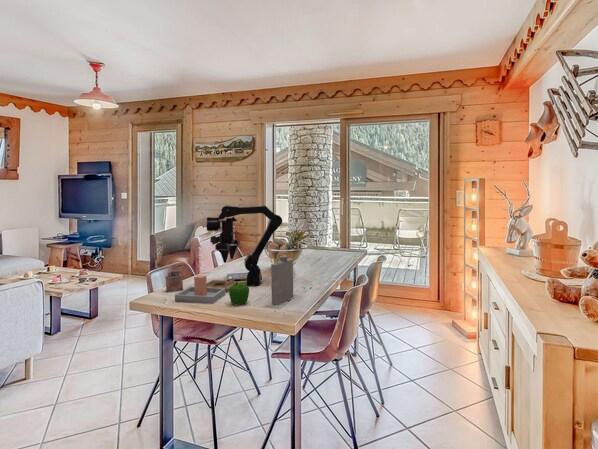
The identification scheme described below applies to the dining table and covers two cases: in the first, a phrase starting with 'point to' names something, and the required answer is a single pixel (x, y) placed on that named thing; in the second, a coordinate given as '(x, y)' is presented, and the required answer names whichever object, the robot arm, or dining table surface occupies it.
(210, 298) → the tray
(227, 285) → the socket block
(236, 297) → the bell pepper
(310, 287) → the dining table surface
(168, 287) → the lighter
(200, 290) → the brown tall block
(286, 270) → the hip flask
